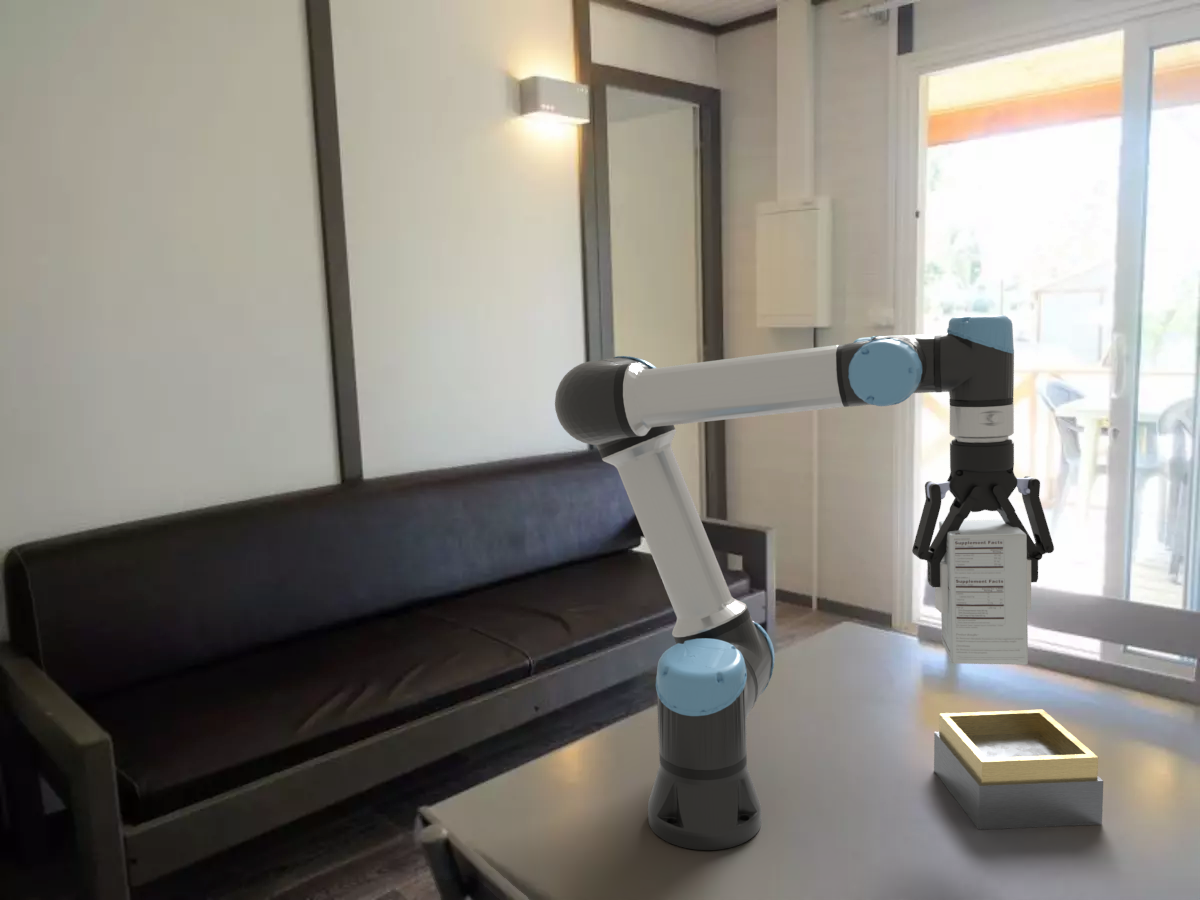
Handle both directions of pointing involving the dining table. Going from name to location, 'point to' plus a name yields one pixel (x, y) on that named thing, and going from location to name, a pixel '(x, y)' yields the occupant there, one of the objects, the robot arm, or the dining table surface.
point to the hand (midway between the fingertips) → (982, 608)
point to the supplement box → (986, 594)
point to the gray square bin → (1017, 770)
